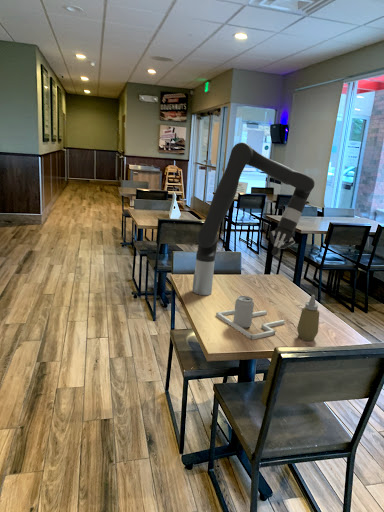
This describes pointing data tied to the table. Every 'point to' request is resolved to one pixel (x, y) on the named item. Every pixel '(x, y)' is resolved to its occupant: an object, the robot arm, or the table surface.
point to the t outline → (254, 336)
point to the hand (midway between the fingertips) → (273, 255)
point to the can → (243, 311)
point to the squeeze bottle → (309, 321)
